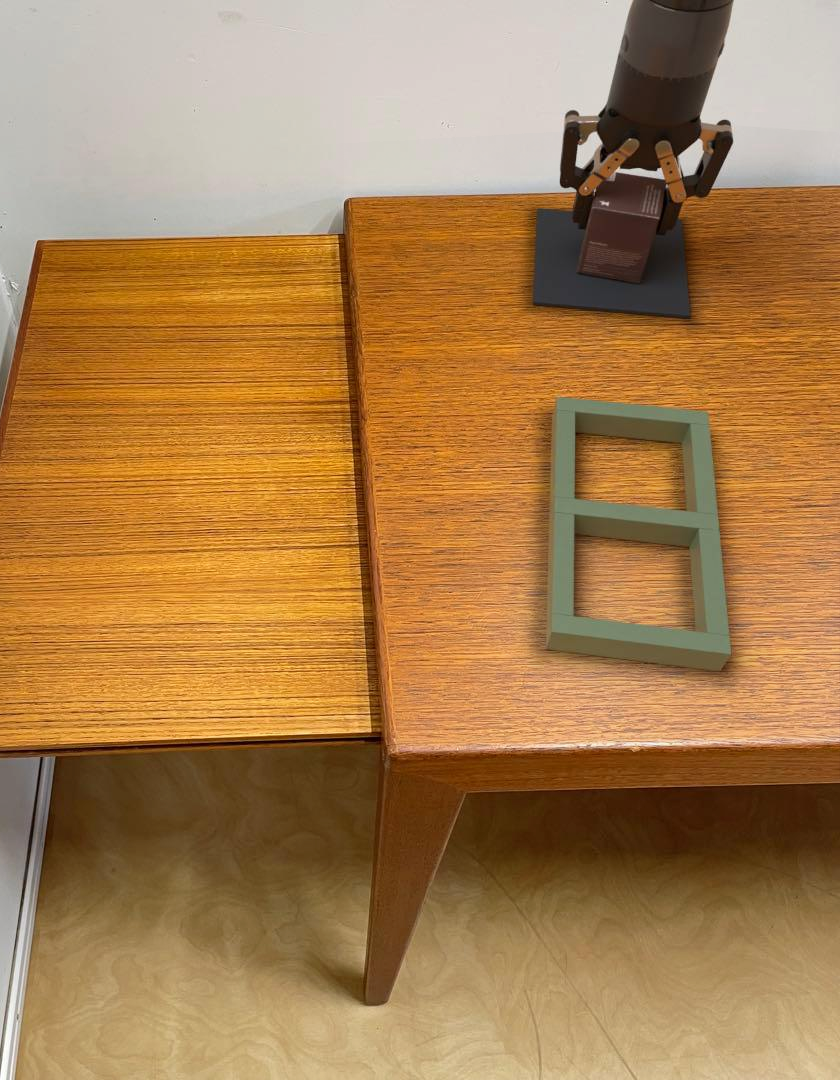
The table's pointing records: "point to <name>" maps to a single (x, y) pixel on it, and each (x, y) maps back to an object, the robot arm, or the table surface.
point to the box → (621, 227)
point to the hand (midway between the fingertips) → (620, 226)
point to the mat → (570, 289)
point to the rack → (637, 536)
